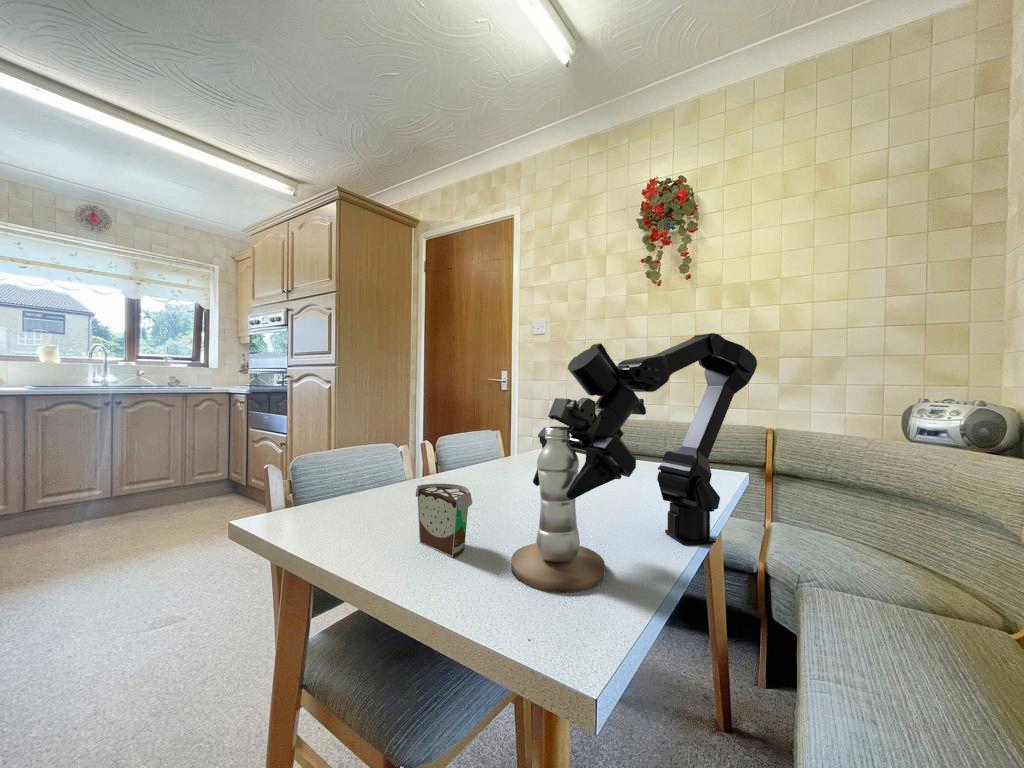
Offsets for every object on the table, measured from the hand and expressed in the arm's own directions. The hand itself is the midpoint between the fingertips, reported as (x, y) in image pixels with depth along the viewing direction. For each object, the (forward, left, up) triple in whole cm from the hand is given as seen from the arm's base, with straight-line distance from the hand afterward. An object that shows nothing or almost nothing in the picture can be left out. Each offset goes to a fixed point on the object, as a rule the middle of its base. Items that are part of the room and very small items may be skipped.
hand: (550, 490), depth 60 cm
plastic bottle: (-1, 0, -11) cm, 11 cm away
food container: (+15, -12, -12) cm, 23 cm away
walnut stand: (-1, 0, -12) cm, 12 cm away
